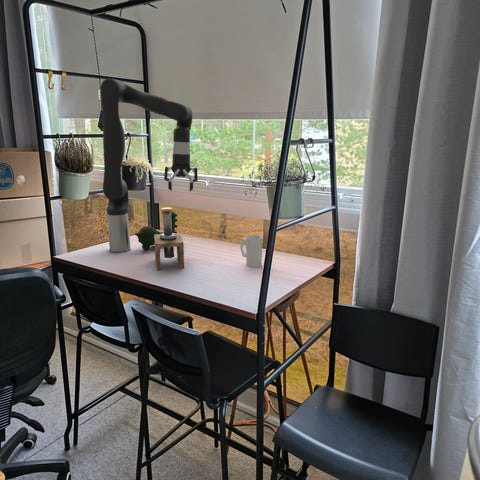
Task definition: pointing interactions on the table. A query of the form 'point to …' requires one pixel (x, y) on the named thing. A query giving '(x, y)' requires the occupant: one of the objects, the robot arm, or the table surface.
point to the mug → (252, 250)
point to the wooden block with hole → (169, 243)
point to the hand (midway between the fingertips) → (180, 190)
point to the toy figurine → (152, 233)
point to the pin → (167, 232)
